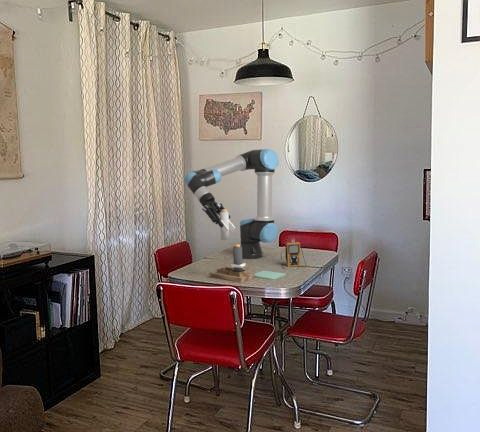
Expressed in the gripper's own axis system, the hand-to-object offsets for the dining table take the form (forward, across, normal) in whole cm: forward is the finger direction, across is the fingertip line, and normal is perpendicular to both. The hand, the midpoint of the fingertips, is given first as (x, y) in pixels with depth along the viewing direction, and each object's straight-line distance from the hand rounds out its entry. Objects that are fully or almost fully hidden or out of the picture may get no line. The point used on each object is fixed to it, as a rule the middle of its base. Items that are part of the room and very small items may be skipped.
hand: (230, 230), depth 245 cm
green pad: (+26, -13, -8) cm, 30 cm away
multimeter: (+28, -36, -6) cm, 46 cm away
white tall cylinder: (+1, 0, -6) cm, 6 cm away
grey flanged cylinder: (+19, 0, -13) cm, 22 cm away
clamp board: (+17, 0, -17) cm, 24 cm away
